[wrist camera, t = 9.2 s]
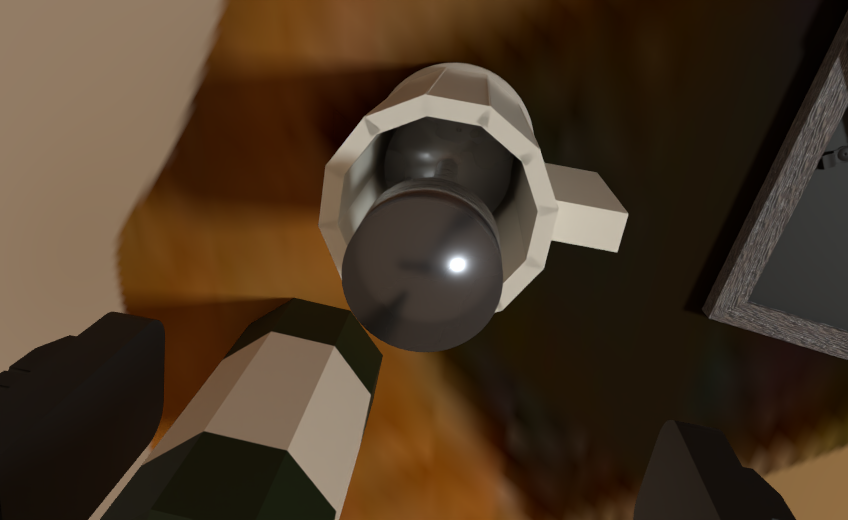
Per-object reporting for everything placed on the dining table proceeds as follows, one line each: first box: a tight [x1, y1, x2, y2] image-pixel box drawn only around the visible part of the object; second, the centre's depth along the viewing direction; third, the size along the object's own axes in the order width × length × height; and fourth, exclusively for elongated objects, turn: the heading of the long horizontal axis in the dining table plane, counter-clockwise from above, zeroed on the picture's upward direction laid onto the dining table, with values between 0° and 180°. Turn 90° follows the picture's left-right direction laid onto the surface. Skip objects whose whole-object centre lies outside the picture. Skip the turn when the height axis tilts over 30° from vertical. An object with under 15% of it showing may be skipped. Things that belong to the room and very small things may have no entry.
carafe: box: [318, 62, 628, 312], centre depth 26 cm, size 10×8×13 cm
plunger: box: [341, 116, 511, 352], centre depth 21 cm, size 5×5×13 cm
